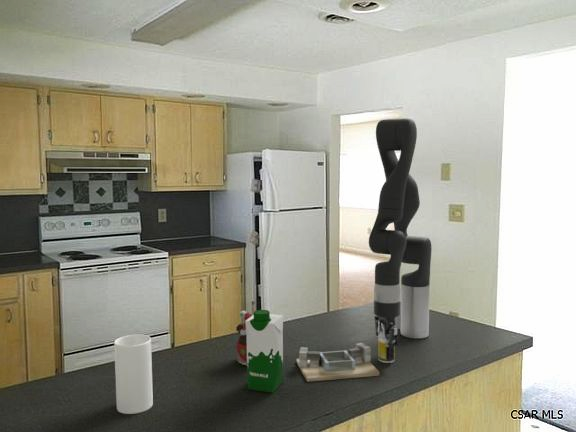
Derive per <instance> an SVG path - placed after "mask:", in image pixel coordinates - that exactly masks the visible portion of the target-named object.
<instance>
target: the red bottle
mask: <svg viewBox="0 0 576 432" xmlns="http://www.w3.org/2000/svg"><path fill="white" fill-rule="evenodd" d="M255 303H256V302H255V300H251V313H250V312H247V311H246V310H241V311H240V312H239V313H238V315H239V318H240V319H244V323H243V322H242V323H241V322H240V323H239V324H237V326H236V329H235V330H236V332H238V334H240V336H239V337H238V340H237V342H236V346H237V347H236V351H237V353H238V356H237V358H236V359H237V362H238V363H239V364H241V365H243V366H244V365H245V366H247V335H246V324H245V321H246V320H247V319H248V318H250V317H251V316H252V315H254V311H256V304H255Z"/></svg>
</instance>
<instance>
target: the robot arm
mask: <svg viewBox="0 0 576 432" xmlns="http://www.w3.org/2000/svg"><path fill="white" fill-rule="evenodd" d="M375 128H376V129H375V139H376V146H377V148H378V153H379V157H380V161H381V163H382V166H383V170H384V172H383V173H384V176H385V182H384V183H383V185H382V187H381V189H380V193H379V199H378V209H377V216H376V218H375V221H374V223H373V226H372V229H371V231H370V234H369V237H368V246H369V249H370V251H371V252H372V253H373V254H378V255H379V254H380V255H388V256H389V255H390V257H389V260H388V261H381V262H377V263H376V264H375V267H374V287H373V314H374V315H375V316H374V325H375V326H374V327H375V328H374V329H375V336H376V337H377V340H379V338H380V331H382V332H383V337H384V339H385V340H386V359H387V360H393V359H394V347H395V348H396V347H397V348H398V347H399V342H400V335H401V336H403V337H406V338H410V339H425V338H427V337H429V334H430V333H429V331H430V326H429V325H430V285H431V284H430V282H431V281H430V279H431V278H430V277H431V264H432V263H431V261H432V241H431V240H430V238H429V237H426V236H413V235H411V236H410V235H408V228H409V225H410V223H411V222H412V220H413V219H414V217H415V216H416V214H417V212H418V210H419V208H420V205H421V204H420V203H421V201H420V193H419V189H418V184H417V182H416V180H415V178H414V177H413V176H412V175H411V174H410V171H411V167H412V163H413V158H414V153H415V149H416V145H417V137H418V131H417V125H416V122H415V120H414V119H413V118H409V117H407V118H386V119H380V120H379V121H378V122H377V123H376V127H375ZM396 151H397V152H399V151H400V155H399V158H398V157H397V154H396ZM390 224H393V229H394V230H392V229H387V228H388V226H389V225H390ZM402 263H403V264H408V265H418V268H417V269H415V270H414V271H412V272H407V273H404V274H402V276H401V278H400V275H401V266H402ZM397 317H400V327H397V324H396V320H395V319H396V318H397ZM386 334H390V335H389V336H387V335H386ZM388 339H389V340H388Z"/></svg>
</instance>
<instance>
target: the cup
mask: <svg viewBox="0 0 576 432" xmlns="http://www.w3.org/2000/svg"><path fill="white" fill-rule="evenodd" d="M113 342H114V344H113V345H114V348H113V349H114V368H115V369H114V372H115V399H116V400H115V401H116V410H117V412H118V413H121V414H124V415H133V414H140V413H143V412H146V411H148V410H149V409H151V408H152V407H153V404H154V399H153V397H154V396H153V389H154V388H153V363H152V362H153V361H152V360H153V359H152V358H153V357H152V338H151V336H149V335H145V334H128V335H123V336H121V337H118V338H116V339H115V340H114V341H113Z"/></svg>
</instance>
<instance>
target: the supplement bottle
mask: <svg viewBox="0 0 576 432" xmlns="http://www.w3.org/2000/svg"><path fill="white" fill-rule="evenodd" d="M386 335H387V336H389V335H390V334H386ZM377 340H378V339H377ZM388 340H389V339H388ZM377 343H378V347H377V348H378V350H377V352H378V353H377V357H378V358H377V359H378V361H379V362H381V363H385V364H389V363H390V364H391V363H394V362H395V360H396V359H395V357H396V353H395V350H396V349H395V348H396V347H394V359H393V360H387V359H386V340H385V339H384V337H383V332H382V331H380V338H379V340H378V342H377Z"/></svg>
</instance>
